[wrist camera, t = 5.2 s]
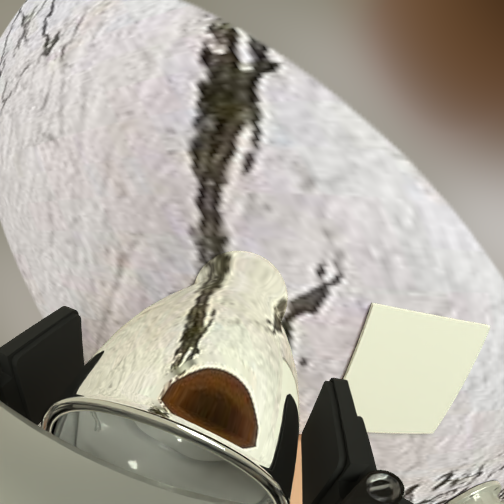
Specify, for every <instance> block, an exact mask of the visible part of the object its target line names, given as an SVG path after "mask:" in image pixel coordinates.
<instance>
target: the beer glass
mask: <svg viewBox="0 0 504 504" xmlns="http://www.w3.org/2000/svg"><path fill="white" fill-rule="evenodd" d="M287 301H288V294H287V288H286V284H285V282H284V280H283V277H282V276H281V274H280V272H279V271H278V270H277V268H276V267H275V266H274V265H273V264H272V263H271V262H269V261H268V260H267V259H265V258H263V257H262V256H260V255H257V254H255V253H251V252H247V251H230V252H225V253H222V254H220V255H217V256H215V257H214V258H212V259H211V260H209V261H208V262H207V263H206V264H205V265H204V266H203V267H202V269H201V270H200V272H199V273H198V275H197V278H196V280H195V283H194V285H192V286H189V287H187V288H184V289H182V290H180V291H178V292H175V293H173V294H171V295H169V296H167V297H165V298H163V299H161V300H159V301H158V302H156V303H154V304H152V305H151V306H149V307H147V308H145V309H144V310H143V311H141V312H140V313H139V314H138V315H136V316H135V317H134V318H132V319H131V320H130V321H129V322H127V323H126V324H125V325H124V326H122V327H121V328H120V329H119V330H118V331H117V332H116V333H115V334H114V335H113V336H112V337H111V338H110V339H109V340H108V341H107V342H106V343H105V344H104V345H103V346H102V347H101V348H100V349H99V350H98V351H97V352H96V353H95V354H94V356H93V357H92V358H91V359H90V360H89V361H88V362H87V364H86V365H85V366H84V367H83V368H82V369H81V371H80V372H79V373H78V374H77V376H76V377H75V378H74V379H73V381H72V382H71V383H70V384H69V386H68V387H67V388H66V389H65V391H64V392H63V393H62V394H61V395H60V397H59V398H58V399H57V400H56V401H55V402H54V403H53V404H51V405H50V406H49V407H48V408H47V409H46V411H45V413H44V415H43V417H42V421H41V428H43V429H44V430H46V431H48V432H49V433H51V434H53V435H55V436H56V437H58V438H60V439H62V440H64V441H66V442H67V443H69V444H71V445H73V446H75V447H77V448H79V449H81V450H83V451H85V452H87V453H89V454H91V455H93V456H95V457H98V458H100V459H102V460H104V461H106V462H109V463H111V464H113V465H116V466H118V467H121V468H123V469H125V470H128V471H131V472H133V473H136V474H138V475H141V476H144V477H147V478H150V479H152V480H155V481H158V482H161V483H164V484H168V485H171V486H174V487H177V488H181V489H184V490H188V491H191V492H195V493H199V494H203V495H207V496H211V497H216V498H220V499H225V500H230V501H235V502H240V503H245V504H290V501H291V493H292V485H293V479H294V473H295V466H296V458H297V448H298V439H299V416H300V401H299V389H298V378H297V371H296V367H295V363H294V359H293V355H292V351H291V348H290V345H289V342H288V339H287V336H286V334H285V331H284V328H283V326H282V324H281V321H282V319H283V316H284V314H285V311H286V307H287Z"/></svg>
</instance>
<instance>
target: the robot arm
mask: <svg viewBox="0 0 504 504" xmlns="http://www.w3.org/2000/svg"><path fill="white" fill-rule="evenodd" d="M83 367H84V357H83V345H82V330H81V317H80V316H79V315H78V312H77V311H76V310H74V309H71V308H69V307H66V306H63V307H61V308H60V309H58V310H56V311H55V312H53V313H52V314H50V315H49V316H47V317H45V318H44V319H42V320H41V321H40V322H38V323H36V324H35V325H33V326H32V327H30V328H29V329H27V330H26V331H24V332H23V333H21V334H20V335H18V336H17V337H15V338H14V339H12V340H11V341H9V342H8V343H6V344H5V345H3V346H2V347H0V504H245V503H240V502H235V501H230V500H225V499H220V498H216V497H211V496H207V495H203V494H199V493H195V492H191V491H188V490H184V489H181V488H177V487H174V486H171V485H168V484H164V483H161V482H158V481H155V480H152V479H150V478H147V477H144V476H141V475H138V474H136V473H133V472H131V471H128V470H125V469H123V468H121V467H118V466H116V465H113V464H111V463H109V462H106V461H104V460H102V459H100V458H98V457H95V456H93V455H91V454H89V453H87V452H85V451H83V450H81V449H79V448H77V447H75V446H73V445H71V444H69V443H67V442H66V441H64V440H62V439H60V438H58V437H56V436H55V435H53V434H51V433H49V432H48V431H46V430H44V429H43V428H41V427H39V426H38V424H39V423H40V422H41V421H42V417H43V415H44V413H45V411H46V409H47V408H48V407H49V406H50V405H51V404H53V403H54V402H55V401H56V400H57V399H58V398H59V397H60V395H61V394H62V393H63V392H64V391H65V389H66V388H67V387H68V386H69V384H70V383H71V382H72V381H73V379H74V378H75V377H76V376H77V374H78V373H79V372H80V371H81V369H82V368H83ZM301 455H302V504H413V503H411V502H410V501H408V500H406V499H405V498H403V495H404V485H403V482H402V481H401V480H400V478H399V477H398V476H396V475H395V474H393V473H391V472H389V471H385V470H377V469H376V465H375V461H374V457H373V453H372V449H371V445H370V442H369V438H368V434H367V431H366V427H365V423H364V420H363V418H362V417H361V416H357V413H356V409H355V405H354V402H353V398H352V394H351V391H350V387H349V384H348V381H347V380H344V379H337V378H331V379H330V381H325V382H324V384H323V386H322V389H321V391H320V394H319V396H318V398H317V401H316V403H315V405H314V407H313V410H312V412H311V414H310V416H309V419H308V421H307V423H306V425H305V427H304V430H303V432H302V436H301ZM500 491H501V485H500V483H499V482H498V481H489V482H486V483H483V484H480V485H478V486H476V487H474V488H472V489H470V490H468V491H466V492H464V493H462V494H461V495H459V496H457V497H455V498H454V499H452V500H451V501H449V502H448V503H446V504H504V500H503V501H501V502H500V500H499V498H498V494H499V493H500Z"/></svg>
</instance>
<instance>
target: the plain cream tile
mask: <svg viewBox="0 0 504 504" xmlns="http://www.w3.org/2000/svg"><path fill="white" fill-rule="evenodd" d="M489 329H490V326H489V325H486V324H480V323H475V322H469V321H464V320H458V319H453V318H448V317H442V316H437V315H432V314H427V313H421V312H416V311H411V310H406V309H401V308H396V307H391V306H386V305H381V304H376V303H372V304H371V307H370V310H369V313H368V316H367V319H366V321H365V324H364V327H363V330H362V332H361V335H360V338H359V341H358V343H357V346H356V348H355V351H354V353H353V356H352V359H351V361H350V363H349V366H348V368H347V371H346V373H345V376H344V378H343V379H344V380H347V381H348V384H349V387H350V391H351V394H352V398H353V402H354V405H355V409H356V413H357V416H361V417H362V418H363V420H364V423H365V427H366V431H367V432H374V433H403V434H424V433H434V431H435V430H436V428H437V427H438V425H439V424H440V422H441V421H442V419H443V417H444V416H445V414H446V413H447V411H448V409H449V408H450V406H451V404H452V403H453V401H454V399H455V398H456V396H457V394H458V393H459V391H460V389H461V387H462V385H463V384H464V382H465V380H466V378H467V376H468V374H469V372H470V370H471V368H472V366H473V364H474V362H475V360H476V358H477V356H478V354H479V352H480V350H481V348H482V345H483V343H484V341H485V339H486V336H487V334H488V332H489Z"/></svg>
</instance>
